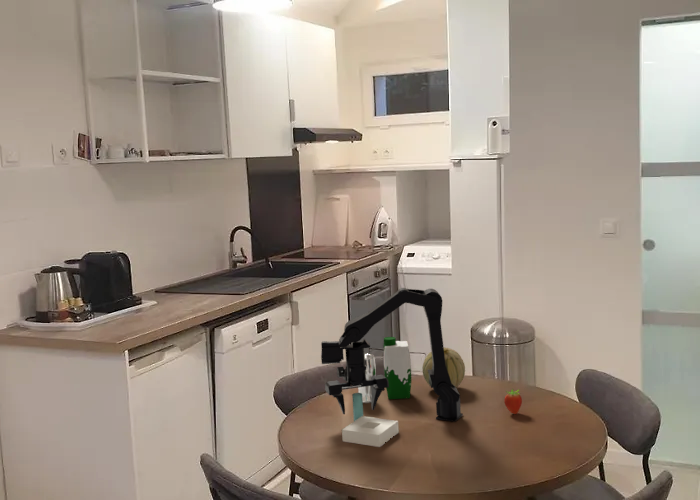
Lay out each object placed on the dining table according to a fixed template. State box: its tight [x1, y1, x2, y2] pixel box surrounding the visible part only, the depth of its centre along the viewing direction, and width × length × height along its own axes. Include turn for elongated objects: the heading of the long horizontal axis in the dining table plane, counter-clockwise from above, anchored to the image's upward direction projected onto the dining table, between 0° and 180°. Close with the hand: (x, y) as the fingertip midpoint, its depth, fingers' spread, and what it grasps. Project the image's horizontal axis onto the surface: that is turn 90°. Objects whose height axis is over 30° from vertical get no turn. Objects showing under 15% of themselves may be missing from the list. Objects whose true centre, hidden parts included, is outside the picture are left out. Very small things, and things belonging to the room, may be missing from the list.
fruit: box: [503, 389, 523, 415], centre depth 227 cm, size 5×5×8 cm
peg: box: [351, 392, 364, 422], centre depth 226 cm, size 3×3×9 cm
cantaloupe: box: [422, 346, 466, 388], centre depth 254 cm, size 15×15×15 cm
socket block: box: [341, 415, 400, 448], centre depth 215 cm, size 12×12×4 cm
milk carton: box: [382, 336, 412, 400], centre depth 250 cm, size 9×9×20 cm
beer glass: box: [357, 353, 377, 404], centre depth 247 cm, size 7×7×15 cm
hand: (358, 411), depth 227 cm, fingers open, 9 cm apart
